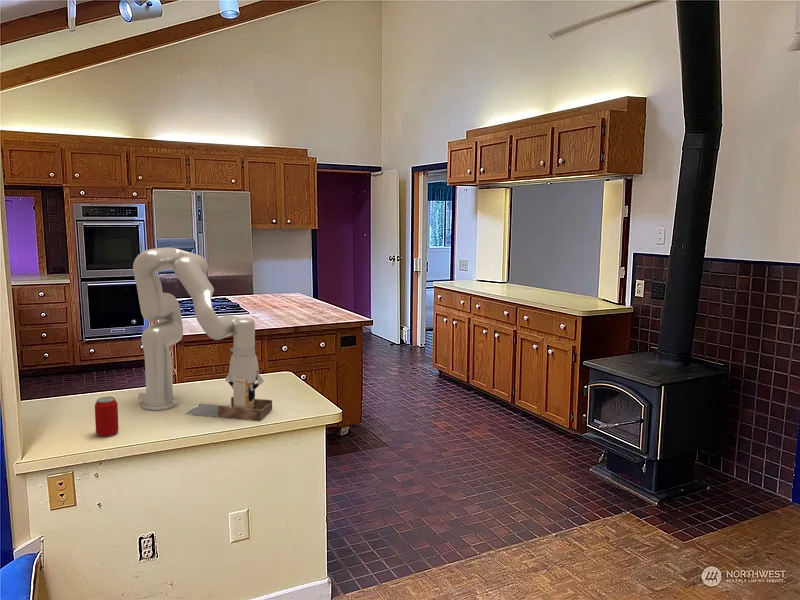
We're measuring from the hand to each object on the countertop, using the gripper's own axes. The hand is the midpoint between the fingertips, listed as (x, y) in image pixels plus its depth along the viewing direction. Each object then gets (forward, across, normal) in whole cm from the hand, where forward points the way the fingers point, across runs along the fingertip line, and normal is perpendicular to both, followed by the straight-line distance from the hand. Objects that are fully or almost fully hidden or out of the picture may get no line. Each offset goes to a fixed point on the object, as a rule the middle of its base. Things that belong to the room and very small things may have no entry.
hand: (244, 398), depth 217 cm
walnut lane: (+6, 0, 0) cm, 6 cm away
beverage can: (+6, -36, -29) cm, 46 cm away
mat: (+6, -14, 0) cm, 16 cm away
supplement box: (+5, 0, 0) cm, 5 cm away
